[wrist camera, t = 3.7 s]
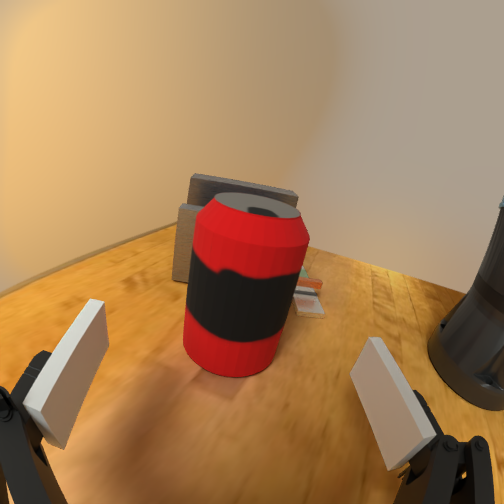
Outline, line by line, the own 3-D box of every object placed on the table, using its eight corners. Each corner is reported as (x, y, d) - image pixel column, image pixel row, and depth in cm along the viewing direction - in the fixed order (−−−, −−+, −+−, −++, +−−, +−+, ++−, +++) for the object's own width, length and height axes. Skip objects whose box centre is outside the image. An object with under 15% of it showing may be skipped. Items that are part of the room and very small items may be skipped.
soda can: (180, 376, 19) (196, 210, 14) (185, 315, 26) (201, 184, 21) (281, 381, 20) (333, 232, 16) (265, 322, 27) (296, 200, 23)
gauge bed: (296, 257, 44) (312, 195, 41) (323, 318, 30) (353, 230, 26) (186, 239, 42) (195, 173, 39) (160, 295, 28) (169, 196, 24)
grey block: (305, 273, 39) (321, 217, 36) (318, 301, 32) (339, 236, 29) (182, 254, 37) (190, 194, 34) (171, 279, 30) (178, 208, 27)
